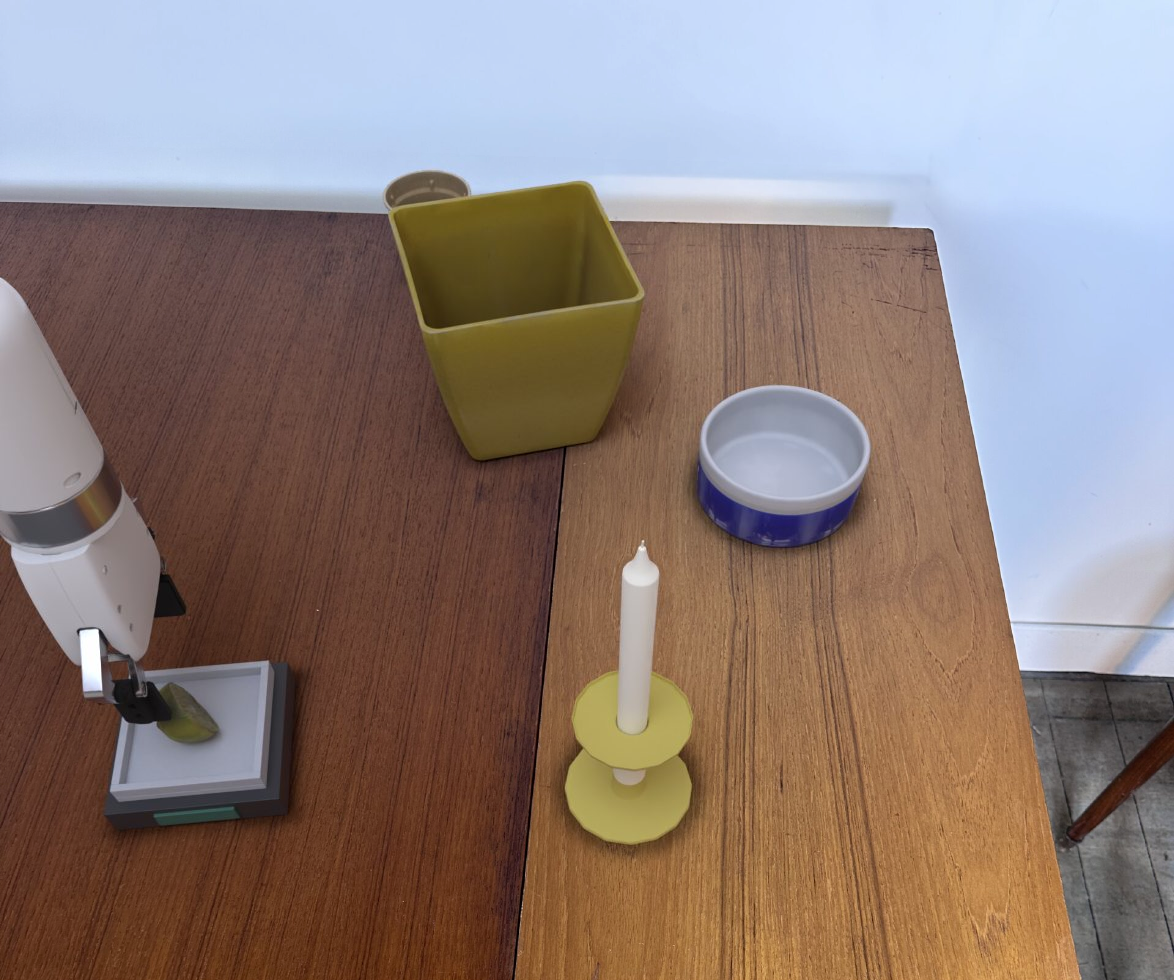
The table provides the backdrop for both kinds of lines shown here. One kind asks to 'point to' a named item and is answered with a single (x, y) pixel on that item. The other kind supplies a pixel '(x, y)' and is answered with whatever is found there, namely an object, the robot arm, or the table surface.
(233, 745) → the scale
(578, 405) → the flower pot
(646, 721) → the candle
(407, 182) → the flower pot
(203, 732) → the lime
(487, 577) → the table surface
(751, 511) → the dog bowl
